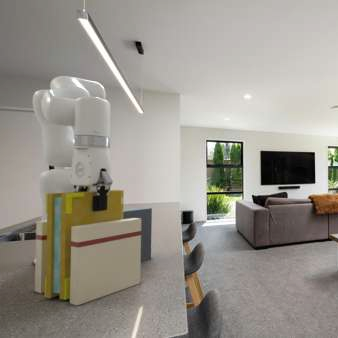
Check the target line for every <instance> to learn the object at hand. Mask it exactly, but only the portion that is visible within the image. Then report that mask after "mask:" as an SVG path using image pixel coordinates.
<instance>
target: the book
mask: <svg viewBox="0 0 338 338" xmlns="http://www.w3.org/2000/svg"><path fill="white" fill-rule="evenodd" d="M108 192H109V195H107V210H104V211H93V196H95V193H94V191H87V192H68V193H47V194H46V213H47V264H46V277H45V292H44V295H43V296H44V297H43V298H48V299H51V298H54V297H57V296H59V300H65V301H66V300H70V273H71V228H72V227H73V226H80V225H87V224H94V223H101V222H108V221H116V220H123V209H124V197H125V196H124V193H125V190H123V189H110V190H109V191H108Z"/></svg>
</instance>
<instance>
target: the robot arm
mask: <svg viewBox="0 0 338 338" xmlns="http://www.w3.org/2000/svg"><path fill="white" fill-rule="evenodd" d="M49 86H50V87H49V89H39V90H36V91H34V93H33V95H32V108H33V113H34V115H35V118H36V120H37V121H38V124H39V125H40V127H41V133H42V153H43V161H44V162H45V164H47V165H48V166H49V167H55V168H53V169H47V170H44V171H43V172H41V174H40V175H39V177H38V188H39V193H40V199H41V221H44V220H47V213H46V194H47V193H68V192H87V191H94V193H95V196H93V211H104V210H107V195H109V192H108V191H109V190H111V186H112V185H113V183H114V180H113V179H112V178H111V174H112V173H111V170H112V169H111V157H110V156H111V155H110V149H111V147H110V146H111V104H110V102H109V101H108V100H106V97H107V93H106V89H105V87H104V86H103V85H102V84H101V83H99V82H98V81H93V80H88V79H84V78H80V77H74V76H68V75H60V76H56V77H54V78H53V79H52V80H51V81H50V84H49ZM73 128H74V129H73ZM35 261H36V258H35V259H34V260H33V264H35Z"/></svg>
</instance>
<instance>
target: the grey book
mask: <svg viewBox="0 0 338 338" xmlns="http://www.w3.org/2000/svg"><path fill="white" fill-rule="evenodd" d="M152 208H153V207H143V208H140V209H131V210H123V219H130V218H140V219H141V262H145V261H148V260H151V259H152V225H153V224H152V223H153V221H152V219H153V218H152V216H153V209H152Z"/></svg>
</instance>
